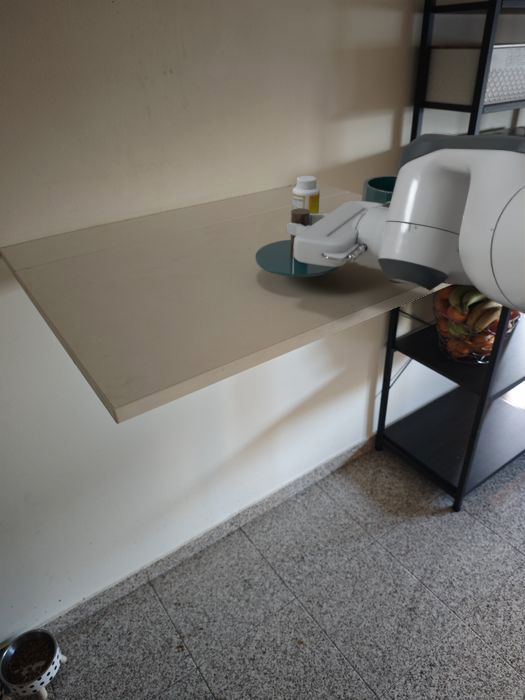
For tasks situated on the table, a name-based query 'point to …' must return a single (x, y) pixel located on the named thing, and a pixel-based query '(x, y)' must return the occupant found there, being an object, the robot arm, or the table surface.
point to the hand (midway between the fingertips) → (295, 222)
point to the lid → (289, 254)
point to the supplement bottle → (306, 194)
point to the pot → (379, 189)
